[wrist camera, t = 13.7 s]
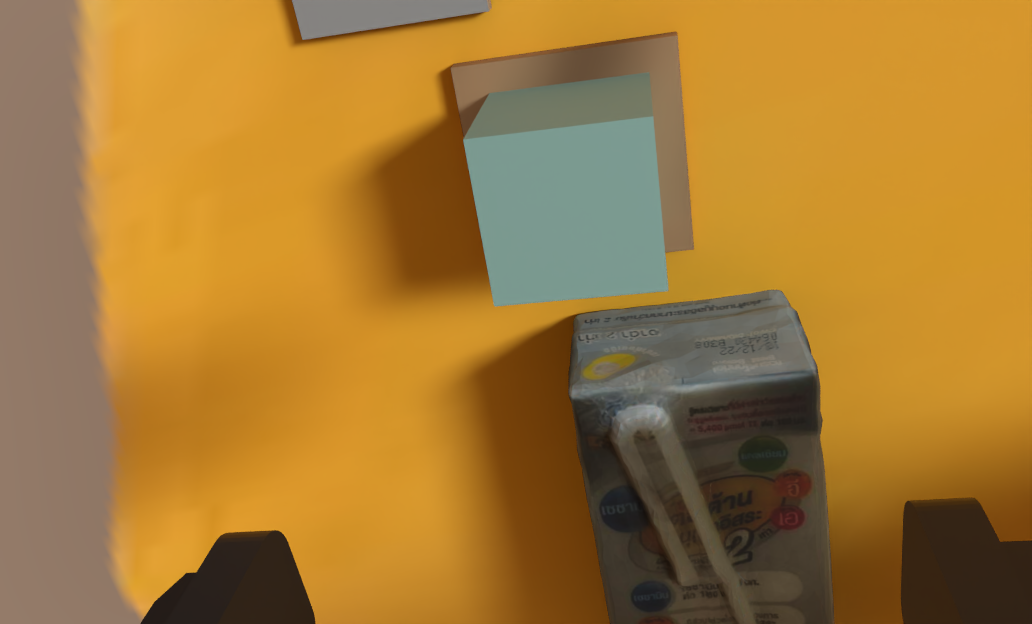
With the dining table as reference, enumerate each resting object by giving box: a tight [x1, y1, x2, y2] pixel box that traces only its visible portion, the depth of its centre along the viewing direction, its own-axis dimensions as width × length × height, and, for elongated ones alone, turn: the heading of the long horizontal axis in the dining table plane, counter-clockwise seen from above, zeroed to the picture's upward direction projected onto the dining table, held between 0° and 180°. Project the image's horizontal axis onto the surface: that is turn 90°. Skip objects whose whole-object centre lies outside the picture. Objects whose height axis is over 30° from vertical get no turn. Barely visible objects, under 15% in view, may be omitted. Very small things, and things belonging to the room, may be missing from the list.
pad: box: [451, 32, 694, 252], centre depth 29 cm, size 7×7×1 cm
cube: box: [463, 72, 668, 306], centre depth 26 cm, size 5×5×5 cm
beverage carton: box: [568, 290, 834, 624], centre depth 32 cm, size 8×19×7 cm, turn 11°
